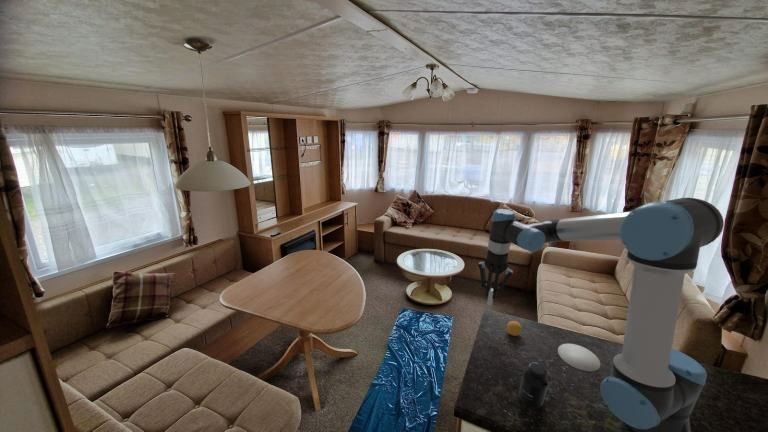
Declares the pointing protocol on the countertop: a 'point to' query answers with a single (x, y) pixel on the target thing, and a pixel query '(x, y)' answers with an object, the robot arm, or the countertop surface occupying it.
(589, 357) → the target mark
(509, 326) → the ball
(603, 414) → the countertop surface
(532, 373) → the supplement bottle
